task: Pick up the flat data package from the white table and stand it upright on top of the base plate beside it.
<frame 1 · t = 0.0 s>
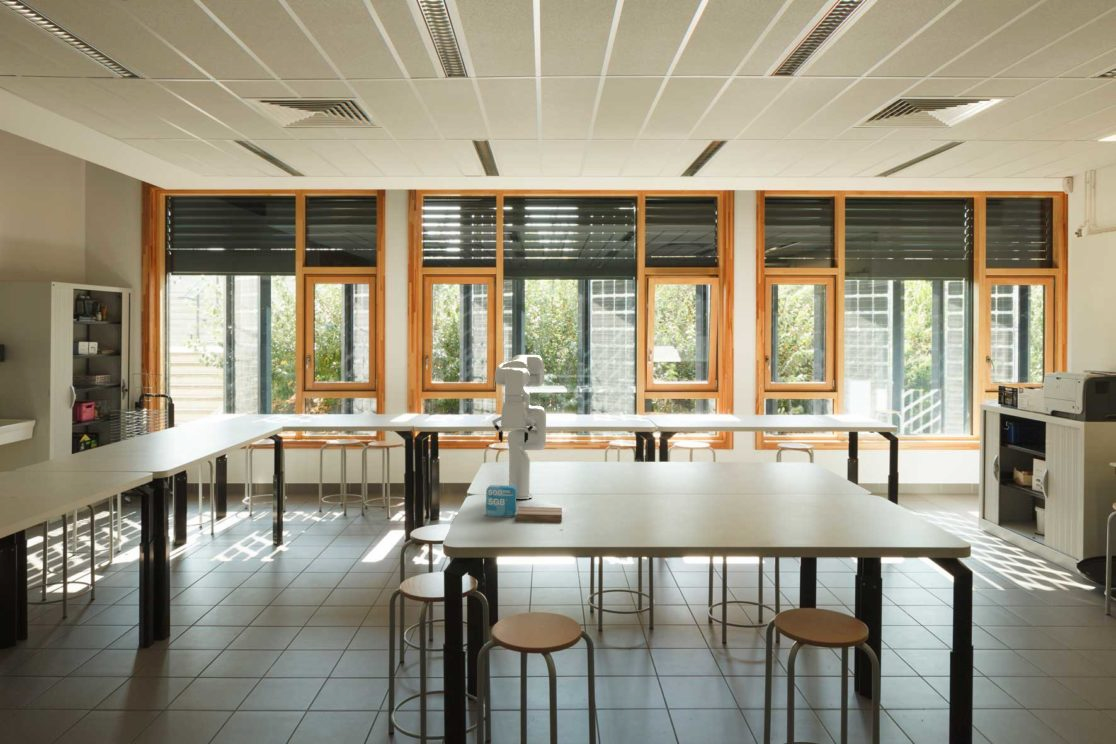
hand: (513, 441, 305), 31 cm above the table, tool pointing down, fingers open, 9 cm apart
base plate: (539, 518, 309), on the table
data package: (501, 515, 313), on the table
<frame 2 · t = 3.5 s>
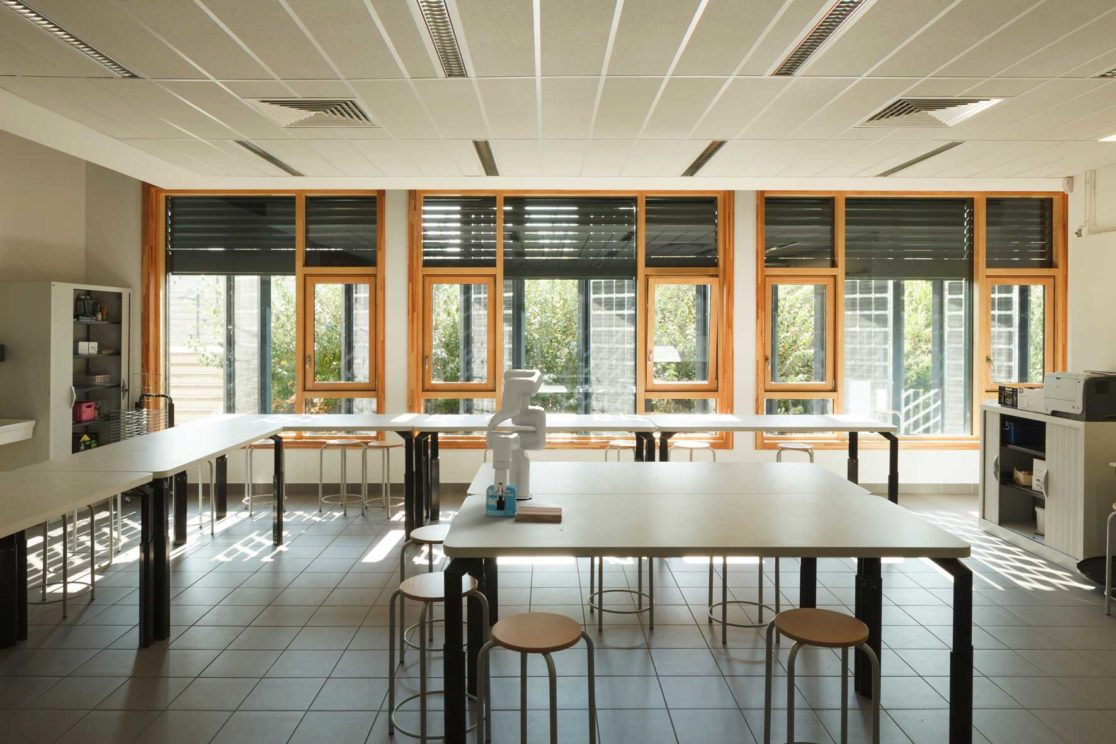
hand: (501, 508, 313), 3 cm above the table, tool pointing down, fingers closed on data package, 4 cm apart
data package: (501, 515, 313), on the table, touching gripper
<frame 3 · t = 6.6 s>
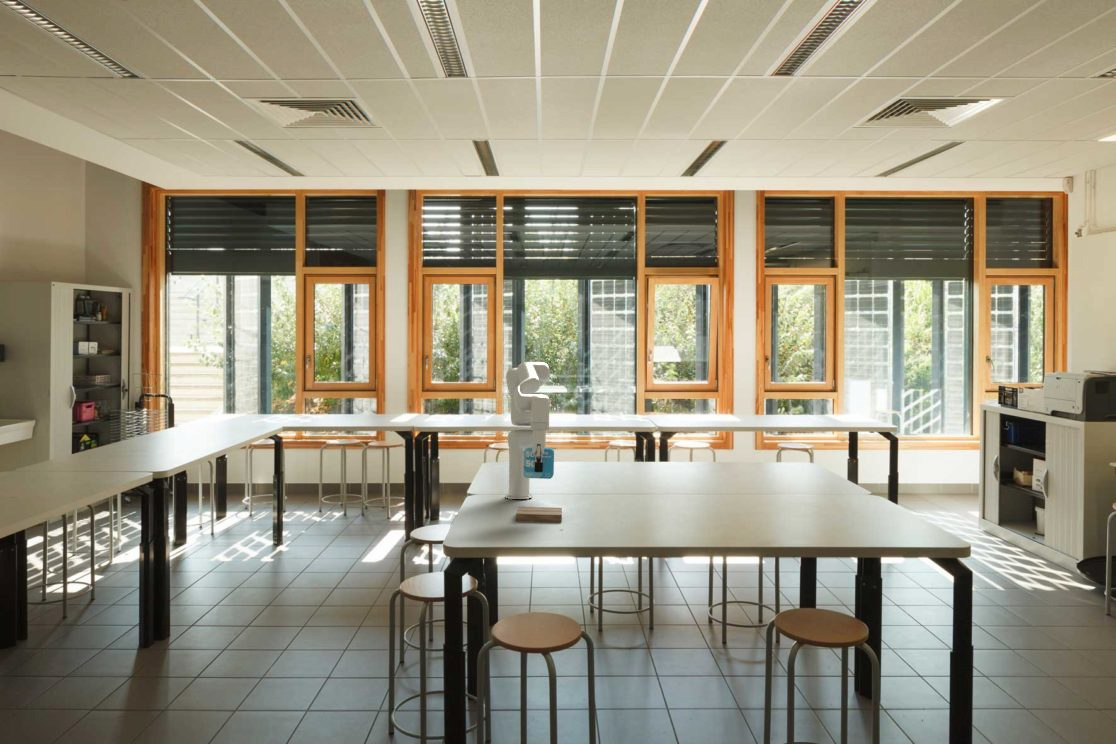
hand: (538, 470, 309), 19 cm above the table, tool pointing down, fingers closed on data package, 4 cm apart
data package: (538, 478, 309), point 16 cm above the table, touching gripper
when the fingers open (7 cm above the table, at t = 9.7 s): data package drops 1 cm, resting on base plate.
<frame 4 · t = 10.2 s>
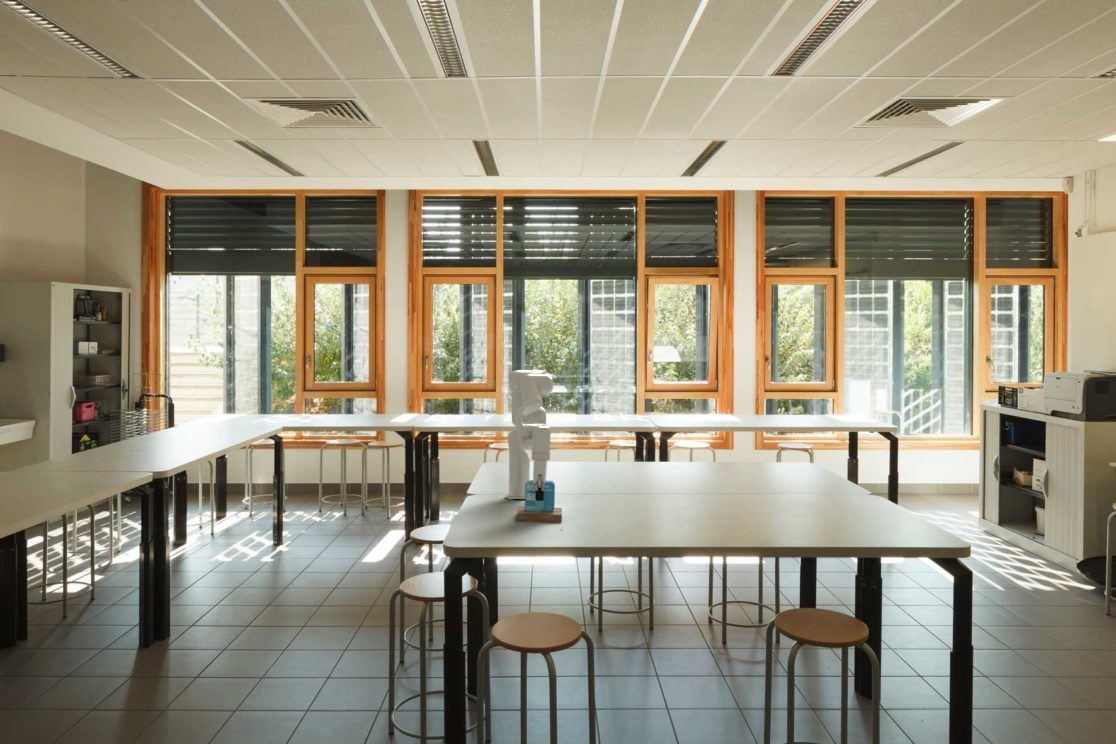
hand: (539, 498, 309), 8 cm above the table, tool pointing down, fingers open, 9 cm apart
data package: (539, 511, 309), point 3 cm above the table, touching base plate
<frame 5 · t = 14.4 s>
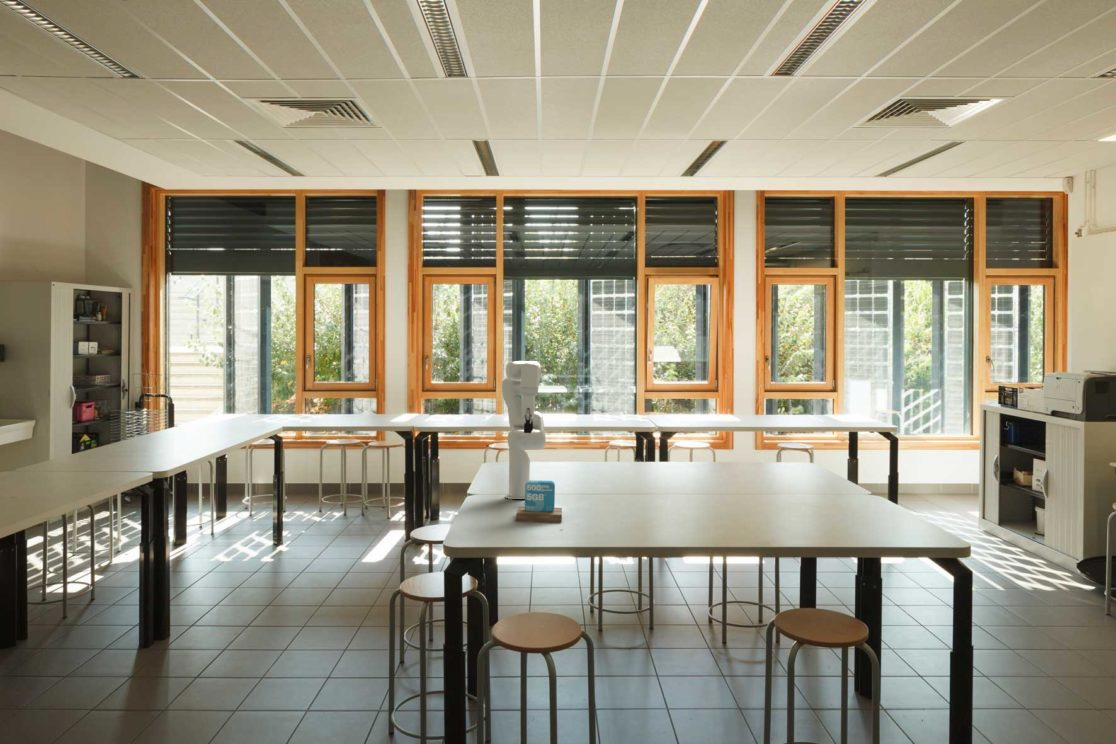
hand: (528, 431, 325), 33 cm above the table, tool pointing down, fingers open, 9 cm apart
nothing on the table moved.
at the end: data package inside the target area on the base plate (0.2 cm from its centre), point 2.8 cm above the base plate's base; data package tilted 0°; the gripper is holding nothing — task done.
